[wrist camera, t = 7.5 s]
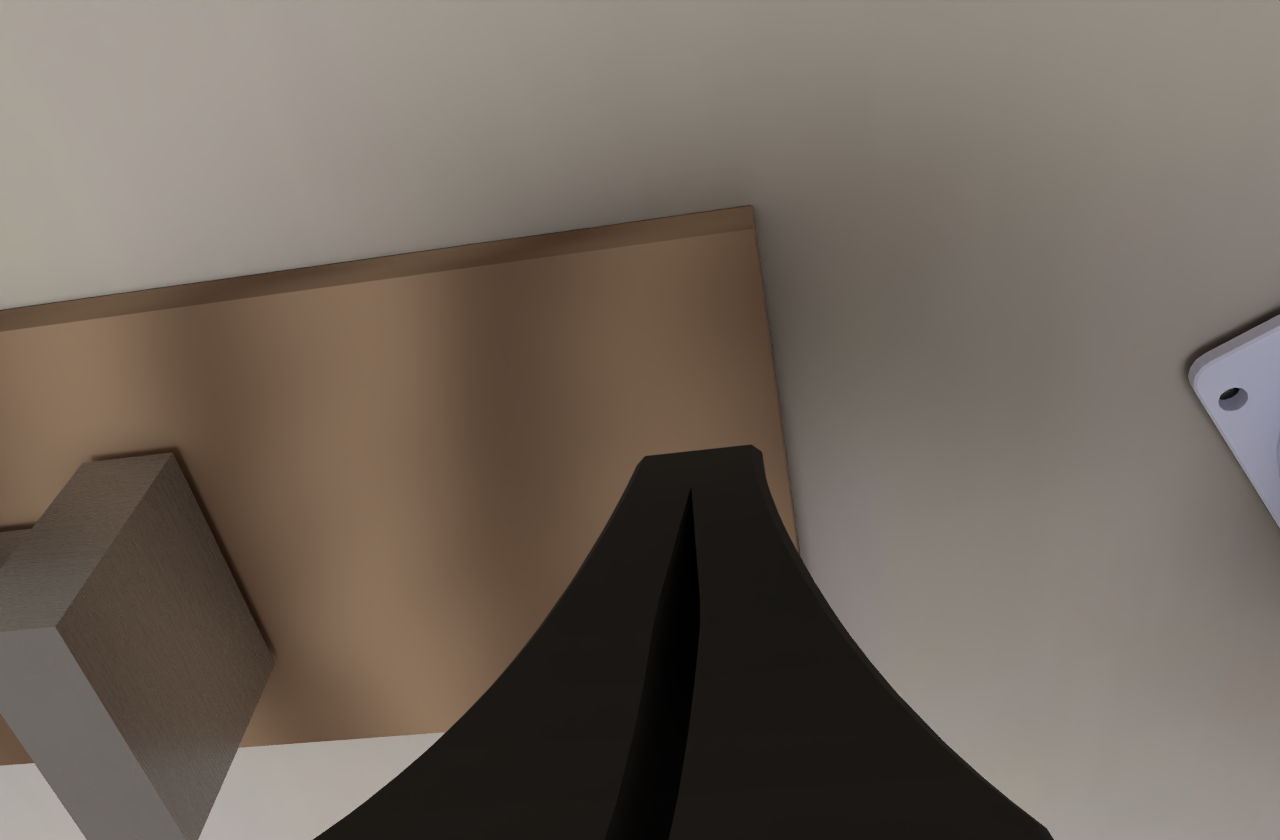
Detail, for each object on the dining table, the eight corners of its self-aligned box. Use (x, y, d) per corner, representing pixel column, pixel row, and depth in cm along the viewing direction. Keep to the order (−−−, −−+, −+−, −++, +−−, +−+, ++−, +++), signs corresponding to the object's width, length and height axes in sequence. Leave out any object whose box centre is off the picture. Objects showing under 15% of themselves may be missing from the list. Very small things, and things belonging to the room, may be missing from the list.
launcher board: (752, 205, 21) (753, 228, 21) (815, 672, 28) (818, 703, 27) (-334, 356, 25) (-371, 382, 24) (-53, 740, 31) (-74, 771, 31)
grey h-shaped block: (172, 452, 24) (55, 626, 20) (275, 663, 27) (193, 851, 23) (-175, 493, 25) (-355, 665, 21) (-38, 690, 28) (-169, 873, 24)
